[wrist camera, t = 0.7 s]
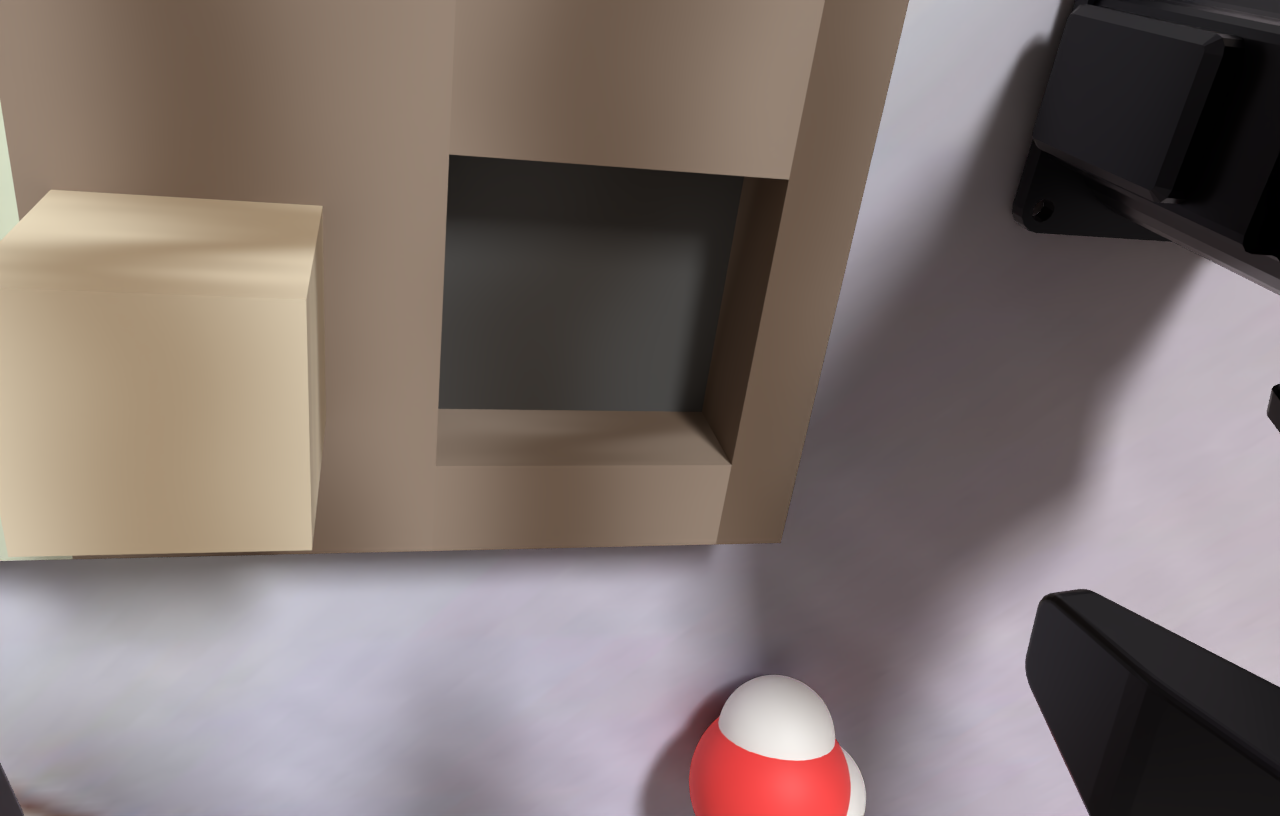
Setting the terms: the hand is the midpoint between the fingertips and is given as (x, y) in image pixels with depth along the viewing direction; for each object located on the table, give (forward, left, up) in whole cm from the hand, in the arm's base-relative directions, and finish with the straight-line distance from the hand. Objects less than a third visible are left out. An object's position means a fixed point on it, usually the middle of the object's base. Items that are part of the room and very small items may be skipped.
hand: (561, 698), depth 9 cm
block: (+4, +1, -10) cm, 11 cm away
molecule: (-9, +14, -13) cm, 21 cm away
